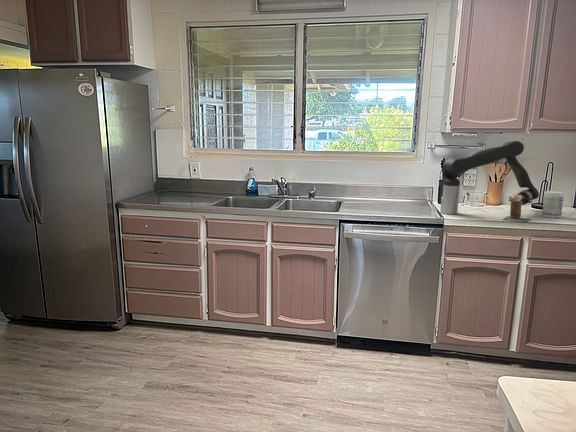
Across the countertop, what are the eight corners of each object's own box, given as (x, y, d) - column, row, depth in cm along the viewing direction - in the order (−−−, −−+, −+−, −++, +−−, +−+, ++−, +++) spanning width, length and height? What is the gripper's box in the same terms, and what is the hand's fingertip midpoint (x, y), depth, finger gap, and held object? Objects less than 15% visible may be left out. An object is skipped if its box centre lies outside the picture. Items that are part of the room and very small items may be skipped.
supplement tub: (561, 219, 237) (564, 193, 234) (542, 217, 242) (545, 192, 239) (560, 216, 246) (563, 191, 243) (541, 214, 250) (544, 190, 247)
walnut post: (510, 218, 238) (510, 197, 233) (512, 214, 241) (513, 194, 236) (518, 219, 236) (519, 198, 230) (520, 215, 239) (521, 194, 233)
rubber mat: (502, 219, 236) (502, 219, 236) (507, 216, 244) (507, 216, 244) (526, 222, 228) (526, 221, 228) (530, 219, 237) (530, 218, 236)
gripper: (511, 190, 253) (505, 193, 240) (536, 192, 245) (531, 196, 232) (510, 202, 255) (503, 206, 242) (535, 205, 246) (529, 209, 233)
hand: (517, 201), depth 237 cm, fingers closed
